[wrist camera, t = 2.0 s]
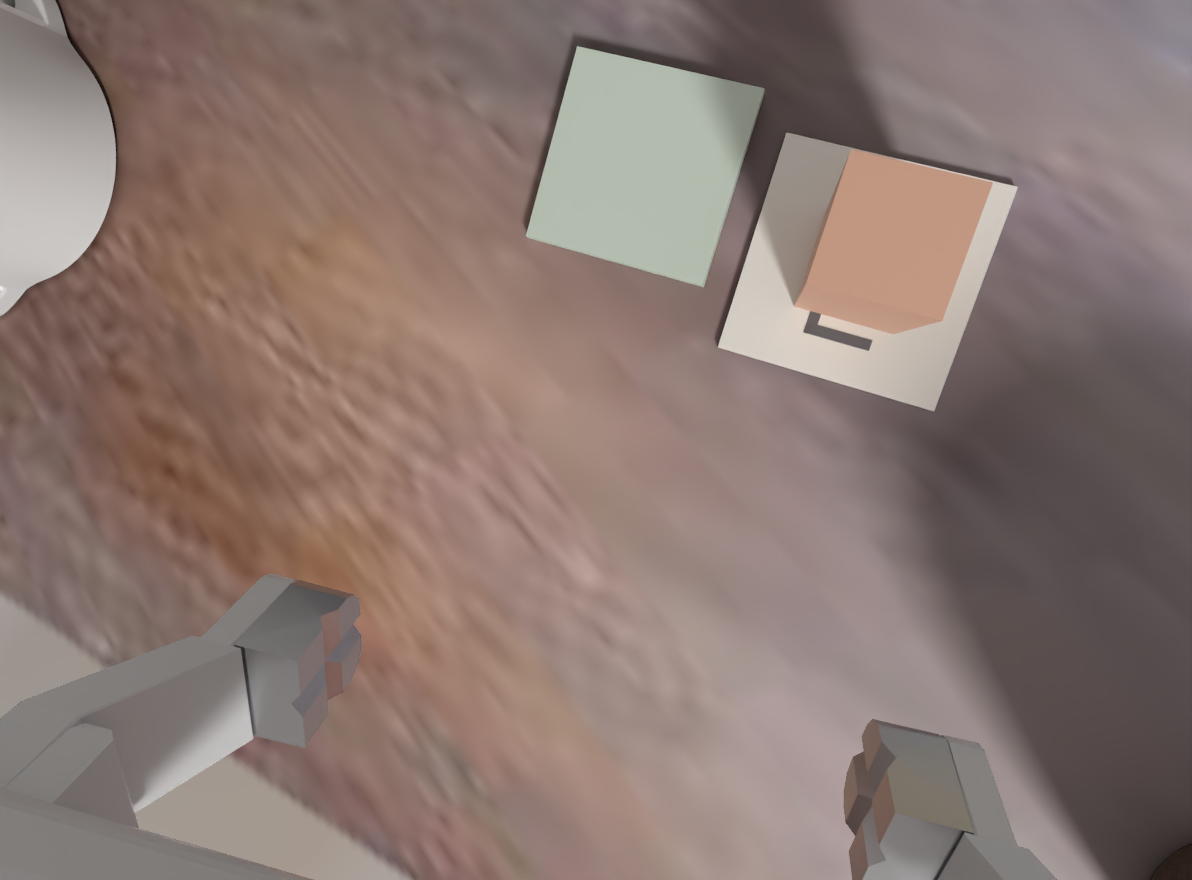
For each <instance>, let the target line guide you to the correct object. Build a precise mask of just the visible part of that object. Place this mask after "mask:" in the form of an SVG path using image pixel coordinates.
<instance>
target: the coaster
mask: <svg viewBox="0 0 1192 880" xmlns="http://www.w3.org/2000/svg"><path fill="white" fill-rule="evenodd" d="M764 94H765V88H761V87H756V86H752V85H747V84H743V83H738V82H734V81H730V80H725V79H721V78H716V77H712V76H707V75H703V74H699V73H694V72H690V71H685V70H681V69H676V68H672V67H668V66H663V65H659V64H654V63H650V62H645V61H641V60H636V59H632V58H628V57H623V56H619V55H614V54H610V53H605V52H601V51H597V50H592V49H588V48H583V47H579V46H577V49H576V53H575V56H574V60H573V64H572V67H571V71H570V75H569V78H568V82H567V86H566V90H565V93H564V97H563V101H562V104H561V108H560V112H559V115H558V119H557V123H556V127H555V130H554V134H553V138H552V141H551V145H550V149H549V152H548V156H547V160H546V164H545V167H544V171H543V175H542V178H541V182H540V186H539V189H538V193H537V197H536V201H535V204H534V208H533V212H532V215H531V219H530V223H529V226H528V230H527V234H526V237H528V238H530V239H533V240H537V241H540V242H544V243H548V244H551V245H555V246H558V247H562V248H565V249H569V250H572V251H576V252H580V253H583V254H587V255H590V256H594V257H597V258H601V259H604V260H608V261H611V262H615V263H619V264H622V265H626V266H629V267H633V268H636V269H640V270H643V271H647V272H651V273H654V274H658V275H661V276H665V277H668V278H672V279H675V280H679V281H682V282H686V283H690V284H693V285H697V286H700V287H704V286H705V282H706V279H707V276H708V273H709V270H710V266H711V263H712V260H713V257H714V254H715V250H716V247H717V244H718V241H719V238H720V234H721V231H722V228H723V225H724V222H725V218H726V215H727V212H728V209H729V206H730V202H731V199H732V196H733V193H734V190H735V186H736V183H737V180H738V177H739V174H740V170H741V167H742V164H743V161H744V158H745V154H746V151H747V148H748V145H749V142H750V138H751V135H752V132H753V129H754V126H755V122H756V119H757V116H758V113H759V110H760V106H761V103H762V100H763V97H764Z"/></svg>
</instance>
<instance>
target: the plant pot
mask: <svg viewBox="0 0 1192 880" xmlns="http://www.w3.org/2000/svg"><path fill="white" fill-rule="evenodd" d="M1150 880H1192V844H1191V845H1189V846H1186V847H1184V848H1182V849H1180V850H1179V851H1177V852H1175V853H1174V854H1172V855H1171V856H1170V857H1168V858H1167V859H1166V860H1165V861H1164V862H1163V863H1162V864H1161V865H1160V866H1159V867H1158V869H1157V870H1156V871H1155V873H1154V874H1153V876H1152V877H1151V879H1150Z"/></svg>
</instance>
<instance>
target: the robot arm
mask: <svg viewBox="0 0 1192 880" xmlns="http://www.w3.org/2000/svg"><path fill="white" fill-rule="evenodd" d="M115 171H116V145H115V136H114V129H113V124H112V119H111V115H110V112H109V108H108V105H107V102H106V100H105V97H104V95H103V92H102V90H101V88H100V86H99V84H98V82H97V80H96V79H95V77H94V75H93V74H92V72H91V71H90V69H89V68H88V66H87V65H86V64H85V62H84V61H83V60H82V58H81V57H80V56H79V55H78V53H77V52H76V51H75V49H74V48H73V46H72V45H71V43H70V41H69V39H68V37H67V33H66V30H65V26H64V23H63V20H62V16H61V13H60V10H59V8H58V5H57V3H56V0H0V316H1V315H3V314H5V313H6V312H7V311H8V310H9V309H10V308H11V307H12V306H13V305H14V304H15V303H16V302H17V300H18V299H19V298H20V297H21V296H22V294H23V293H24V292H25V291H26V289H28V288H29V287H31V286H32V285H34V284H36V283H38V282H41V281H43V280H45V279H48V278H50V277H52V276H54V275H56V274H58V273H60V272H61V271H63V270H65V269H66V268H67V267H69V266H70V265H71V264H73V263H74V262H75V261H76V260H77V259H78V258H79V257H80V256H81V255H82V254H83V253H84V252H85V250H86V249H87V248H88V246H89V245H90V244H91V242H92V241H93V239H94V238H95V236H96V234H97V233H98V231H99V229H100V227H101V225H102V223H103V220H104V218H105V216H106V213H107V210H108V207H109V204H110V200H111V197H112V192H113V187H114V180H115ZM359 616H360V602H359V598H358V597H357V596H355V595H353V594H350V593H346V592H342V591H338V590H335V589H331V588H327V587H323V586H320V585H316V584H312V583H308V582H305V581H301V580H295V579H291V578H287V577H284V576H280V575H276V574H273V573H270V574H268V575H265V576H262V577H261V578H260V579H259V580H258V581H257V582H256V583H255V584H254V585H253V586H252V587H251V588H250V589H249V590H248V591H247V592H246V593H245V594H244V595H243V596H242V597H241V598H240V599H239V600H238V601H237V602H236V603H235V604H234V605H233V606H232V607H231V608H230V609H229V610H228V611H227V612H226V613H225V614H224V615H223V616H222V617H221V618H220V619H219V620H218V621H216V622H215V623H214V624H213V625H212V626H211V627H210V628H209V629H208V630H207V631H206V632H205V633H204V634H203V635H202V636H201V637H195V636H189V637H187V638H184V639H182V640H179V641H176V642H174V643H171V644H169V645H166V646H163V647H161V648H158V649H156V650H153V651H150V652H148V653H145V654H143V655H140V656H138V657H135V658H132V659H130V660H127V661H125V662H122V663H119V664H117V665H114V666H112V667H109V668H106V669H104V670H101V671H99V672H96V673H94V674H91V675H88V676H86V677H83V678H81V679H78V680H75V681H73V682H70V683H68V684H65V685H63V686H60V687H57V688H55V689H52V690H50V691H47V692H44V693H42V694H39V695H37V696H34V697H31V698H29V699H26V700H24V701H21V702H20V703H18V704H17V705H16V706H15V707H14V708H13V709H11V710H10V711H9V712H8V713H6V714H5V715H4V716H3V717H2V718H0V880H312V879H309V878H306V877H302V876H299V875H295V874H292V873H289V872H285V871H282V870H278V869H275V868H272V867H268V866H264V865H261V864H258V863H254V862H251V861H248V860H244V859H241V858H237V857H234V856H230V855H227V854H224V853H220V852H217V851H213V850H210V849H207V848H203V847H200V846H196V845H193V844H190V843H186V842H183V841H179V840H176V839H172V838H169V837H166V836H162V835H159V834H155V833H152V832H149V831H145V830H142V829H139V827H138V824H137V820H136V816H135V813H136V812H137V811H138V810H140V809H142V808H143V807H145V806H147V805H148V804H150V803H152V802H153V801H155V800H156V799H158V798H159V797H161V796H163V795H164V794H166V793H168V792H169V791H171V790H172V789H174V788H175V787H177V786H179V785H180V784H182V783H183V782H185V781H187V780H188V779H190V778H191V777H193V776H195V775H196V774H198V773H199V772H201V771H203V770H204V769H206V768H207V767H209V766H211V765H212V764H214V763H215V762H217V761H219V760H220V759H222V758H223V757H225V756H227V755H228V754H230V753H231V752H233V751H235V750H236V749H238V748H239V747H241V746H243V745H244V744H246V743H247V742H249V741H251V740H252V739H253V736H257V737H262V738H266V739H270V740H274V741H279V742H283V743H287V744H291V745H295V746H300V747H304V748H306V746H307V745H308V743H309V742H310V740H311V739H312V737H313V736H314V734H315V733H316V731H317V730H318V729H319V727H320V726H321V724H322V723H323V721H324V720H325V718H326V717H327V715H328V700H330V699H331V698H333V697H335V696H337V695H339V694H341V693H343V692H344V690H345V689H346V687H347V686H348V684H349V683H350V681H351V680H352V678H353V675H354V673H355V670H356V668H357V665H358V662H359V659H360V653H361V634H360V633H359V632H358V630H357V629H356V627H355V626H354V625H353V624H354V622H355V621H356V620H357V618H358V617H359ZM862 741H863V748H864V752H862V753H860V754H858V755H856V756H854V757H853V758H852V761H851V764H850V766H849V769H848V772H847V776H846V782H845V788H844V813H845V822H846V824H847V825H848V827H849V828H850V829H851V831H852V832H853V833H854V835H855V839H854V841H853V843H852V845H851V847H850V850H849V856H850V864H851V872H852V880H1057V879H1056V878H1055V877H1054V876H1053V875H1052V874H1051V873H1050V871H1049V870H1048V869H1047V868H1046V867H1045V866H1044V865H1043V864H1042V863H1041V862H1040V861H1039V860H1038V859H1037V858H1036V857H1035V855H1034V854H1033V853H1032V852H1031V851H1030V850H1029V849H1026V848H1023V847H1019V846H1017V843H1016V841H1015V838H1014V835H1013V832H1012V829H1011V826H1010V823H1009V820H1008V818H1007V815H1006V812H1005V809H1004V806H1003V803H1002V800H1001V797H1000V795H999V792H998V789H997V786H996V783H995V780H994V777H993V774H992V772H991V769H990V766H989V763H988V760H987V757H986V754H985V751H984V749H983V748H982V747H981V746H980V745H979V743H975V742H971V741H967V740H962V739H958V738H953V737H949V736H945V735H942V736H940V735H939V734H935V733H931V732H926V731H922V730H918V729H913V728H909V727H905V726H900V725H896V724H892V723H888V722H883V721H879V720H875V719H872V720H871V721H870V722H869V723H868V724H867V726H866V728H865V730H864V733H863V735H862Z"/></svg>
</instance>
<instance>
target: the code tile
mask: <svg viewBox="0 0 1192 880" xmlns="http://www.w3.org/2000/svg"><path fill="white" fill-rule="evenodd" d="M851 149H853V150H858V151H862V152H866V153H870V154H875V155H879V156H883V157H887V158H892V159H896V160H900V161H904V162H908V163H913V164H917V165H921V166H925V167H930V168H934V169H938V170H942V171H947V172H951V173H955V174H959V175H964V176H968V177H972V178H976V179H981V180H985V181H989V182H993V184H992V187H991V190H990V192H989V195H988V198H987V201H986V203H985V206H984V209H983V212H982V214H981V217H980V220H979V222H978V225H977V228H976V231H975V233H974V236H973V239H972V241H971V244H970V247H969V250H968V252H967V255H966V258H965V260H964V263H963V266H962V269H961V271H960V274H959V277H958V279H957V282H956V285H955V288H954V290H953V293H952V296H951V299H950V301H949V304H948V307H947V309H946V312H945V315H944V318H943V320H942V321H940V322H937V323H933V324H929V325H926V326H922V327H918V328H915V329H911V330H907V331H903V332H900V333H896V334H891V333H887V332H883V331H880V330H876V329H873V328H869V327H866V326H862V325H858V324H855V323H851V322H848V321H844V320H841V319H837V318H833V317H830V316H826V315H823V314H819V313H816V312H812V311H808V310H805V309H801V308H798V307H794V306H795V303H796V300H797V297H798V294H799V291H800V288H801V285H802V282H803V279H804V276H805V273H806V270H807V267H808V264H809V261H810V258H811V255H812V252H813V249H814V246H815V243H816V240H817V237H818V234H819V231H820V228H821V225H822V222H823V219H824V216H825V213H826V210H827V207H828V205H829V202H830V200H831V197H832V195H833V192H834V190H835V187H836V185H837V182H838V180H839V177H840V175H841V173H842V170H843V168H844V165H845V163H846V160H847V158H848V155H849V153H850V150H851ZM1017 188H1018V187H1016V186H1012V185H1008V184H1004V183H999V182H995V181H991V180H987V179H982V178H978V177H974V176H970V175H965V174H961V173H957V172H953V171H948V170H944V169H940V168H936V167H931V166H927V165H923V164H919V163H914V162H910V161H906V160H902V159H897V158H893V157H889V156H885V155H880V154H876V153H872V152H868V151H863V150H859V149H855V148H851V147H846V146H842V145H838V144H834V143H829V142H825V141H821V140H817V139H812V138H808V137H804V136H800V135H796V134H791V133H787V132H786V136H785V139H784V142H783V145H782V148H781V151H780V154H779V157H778V161H777V164H776V167H775V170H774V173H773V176H772V179H771V182H770V186H769V189H768V192H767V195H766V198H765V201H764V204H763V207H762V211H761V214H760V217H759V220H758V223H757V226H756V229H755V232H754V236H753V239H752V242H751V245H750V248H749V251H748V254H747V257H746V261H745V264H744V267H743V270H742V273H741V276H740V279H739V282H738V286H737V289H736V292H735V295H734V298H733V301H732V304H731V307H730V311H729V314H728V317H727V320H726V323H725V326H724V329H723V332H722V336H721V339H720V342H719V345H718V348H721V349H724V350H728V351H731V352H735V353H738V354H741V355H745V356H748V357H751V358H755V359H758V360H762V361H765V362H768V363H772V364H775V365H778V366H782V367H785V368H789V369H792V370H795V371H799V372H802V373H805V374H809V375H812V376H816V377H819V378H822V379H826V380H829V381H832V382H836V383H839V384H843V385H846V386H849V387H853V388H856V389H859V390H863V391H866V392H870V393H873V394H876V395H880V396H883V397H886V398H890V399H893V400H897V401H900V402H903V403H907V404H910V405H913V406H917V407H920V408H924V409H927V410H930V411H934V410H935V408H936V405H937V402H938V400H939V397H940V394H941V392H942V389H943V386H944V384H945V381H946V378H947V376H948V373H949V370H950V368H951V365H952V362H953V360H954V357H955V354H956V351H957V349H958V346H959V343H960V341H961V338H962V335H963V333H964V330H965V327H966V325H967V322H968V319H969V317H970V314H971V311H972V309H973V306H974V303H975V301H976V298H977V295H978V293H979V290H980V287H981V285H982V282H983V279H984V277H985V274H986V271H987V268H988V266H989V263H990V260H991V258H992V255H993V252H994V250H995V247H996V244H997V242H998V239H999V236H1000V234H1001V231H1002V228H1003V226H1004V223H1005V220H1006V218H1007V215H1008V212H1009V210H1010V207H1011V204H1012V202H1013V199H1014V196H1015V194H1016V191H1017Z"/></svg>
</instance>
